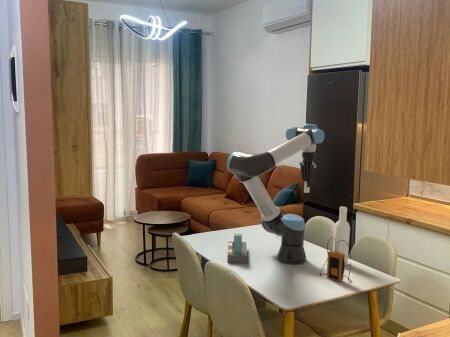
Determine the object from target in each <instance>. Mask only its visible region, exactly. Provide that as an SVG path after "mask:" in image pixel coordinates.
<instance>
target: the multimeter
mask: <svg viewBox="0 0 450 337" xmlns="http://www.w3.org/2000/svg"><path fill="white" fill-rule="evenodd" d="M331 239H333V240H334V239H335V238H334V236H333V237H330V238H329V239H328V240H327V245H326V252H327V258H326V261H325V262H324V265H323V266H322V268H321V271H320V272H319V276H325V275H326V279H328V280H333V281H336V282H339V283H340V282H342V281H343V280H344V277H345V275H344V274H345V266H346V265H345V260H344V259H345V254H343V253H339V252H338V247H337V252H336V246H335V251H333V250H330V251H329V249H328V244H329V242H330V241H331ZM335 241H336V240H335ZM340 241H344V240H340ZM345 242H346V241H345ZM338 243H339V242H338ZM346 243H347V242H346ZM347 245H348V244H347ZM348 247H349V250H348V251H351V249H350V244H349V245H348ZM349 255H350V258H352V254H351V252H349ZM326 263H327V265H326ZM325 265H326V266H327V268H326V273H324V274H322V271H323V269H324V267H325ZM351 267H352V263H350V264H349V269H351ZM350 273H351V270H349V271H348V276H350ZM346 279H348V280H347V281H348V282H350V283H352V279H351V278H350V277H346Z"/></svg>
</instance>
